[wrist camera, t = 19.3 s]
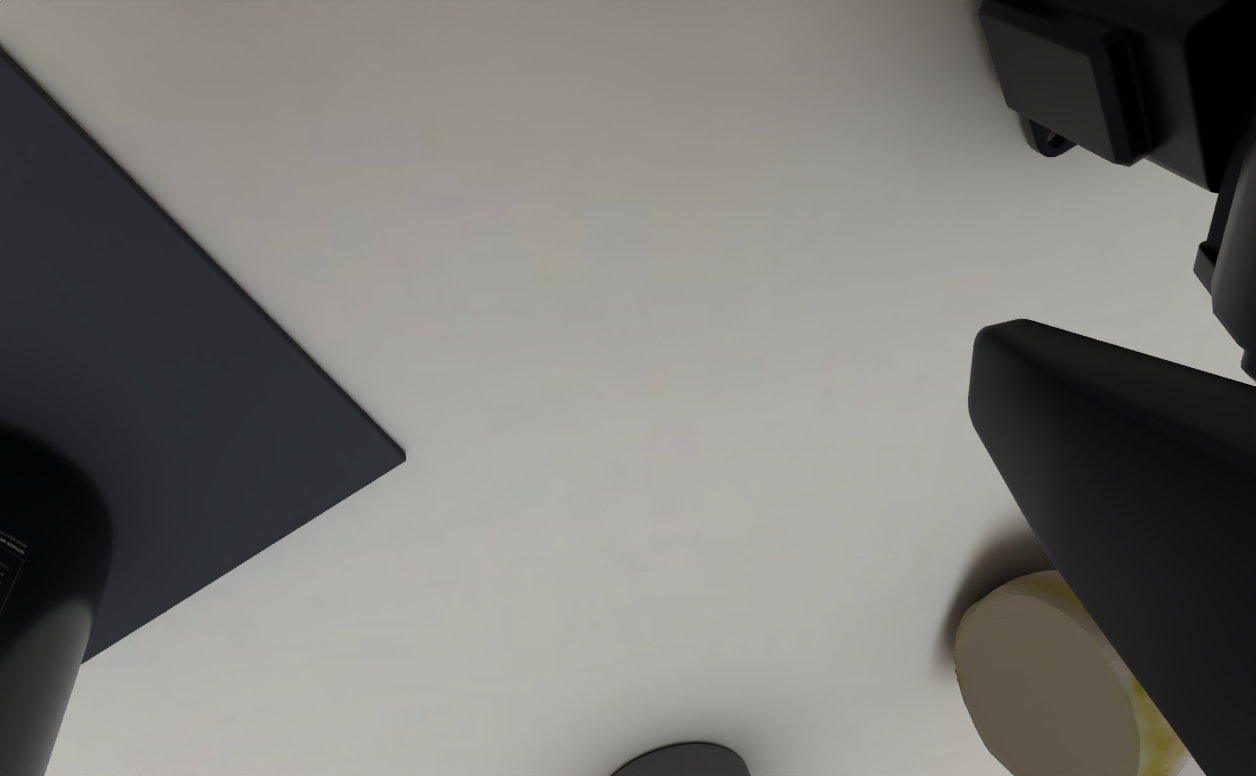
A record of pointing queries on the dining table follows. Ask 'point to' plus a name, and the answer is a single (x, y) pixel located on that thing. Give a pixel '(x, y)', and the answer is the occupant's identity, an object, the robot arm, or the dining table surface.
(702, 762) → the bottle
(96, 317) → the mat
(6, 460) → the supplement bottle
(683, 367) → the dining table surface
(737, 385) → the dining table surface
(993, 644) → the mug
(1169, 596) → the robot arm
